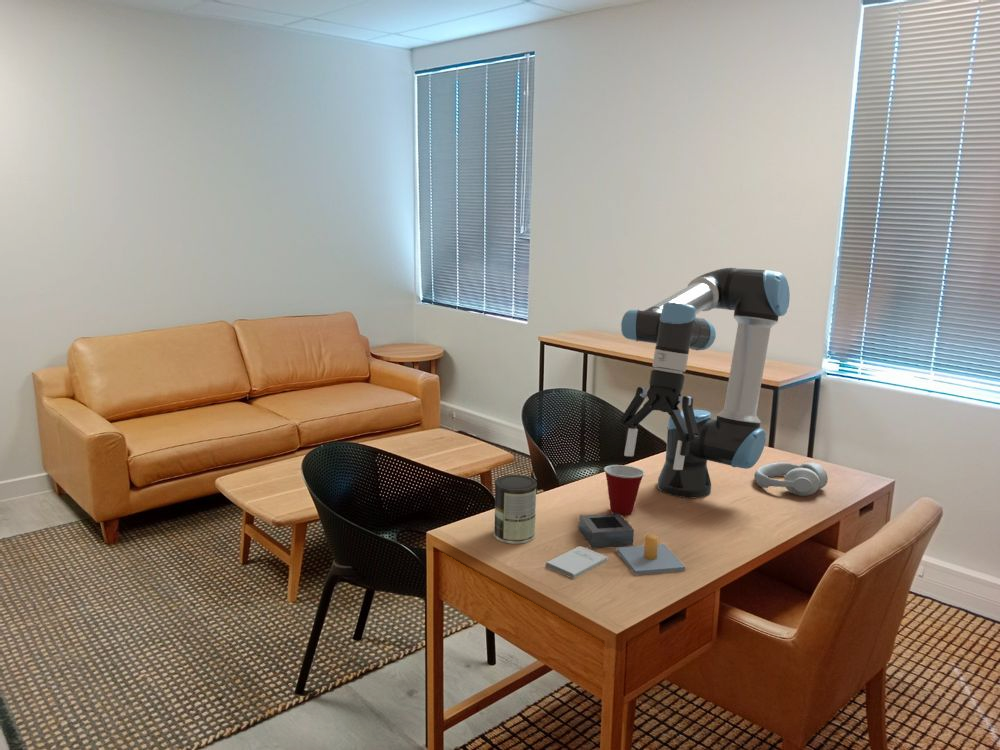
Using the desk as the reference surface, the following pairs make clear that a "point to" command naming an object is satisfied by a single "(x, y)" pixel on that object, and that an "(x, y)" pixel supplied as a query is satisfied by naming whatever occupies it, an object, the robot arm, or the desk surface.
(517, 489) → the coffee can
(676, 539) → the desk surface
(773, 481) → the headphones
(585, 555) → the external hard drive
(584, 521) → the gray square socket block
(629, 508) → the plastic cup
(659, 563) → the keeper
